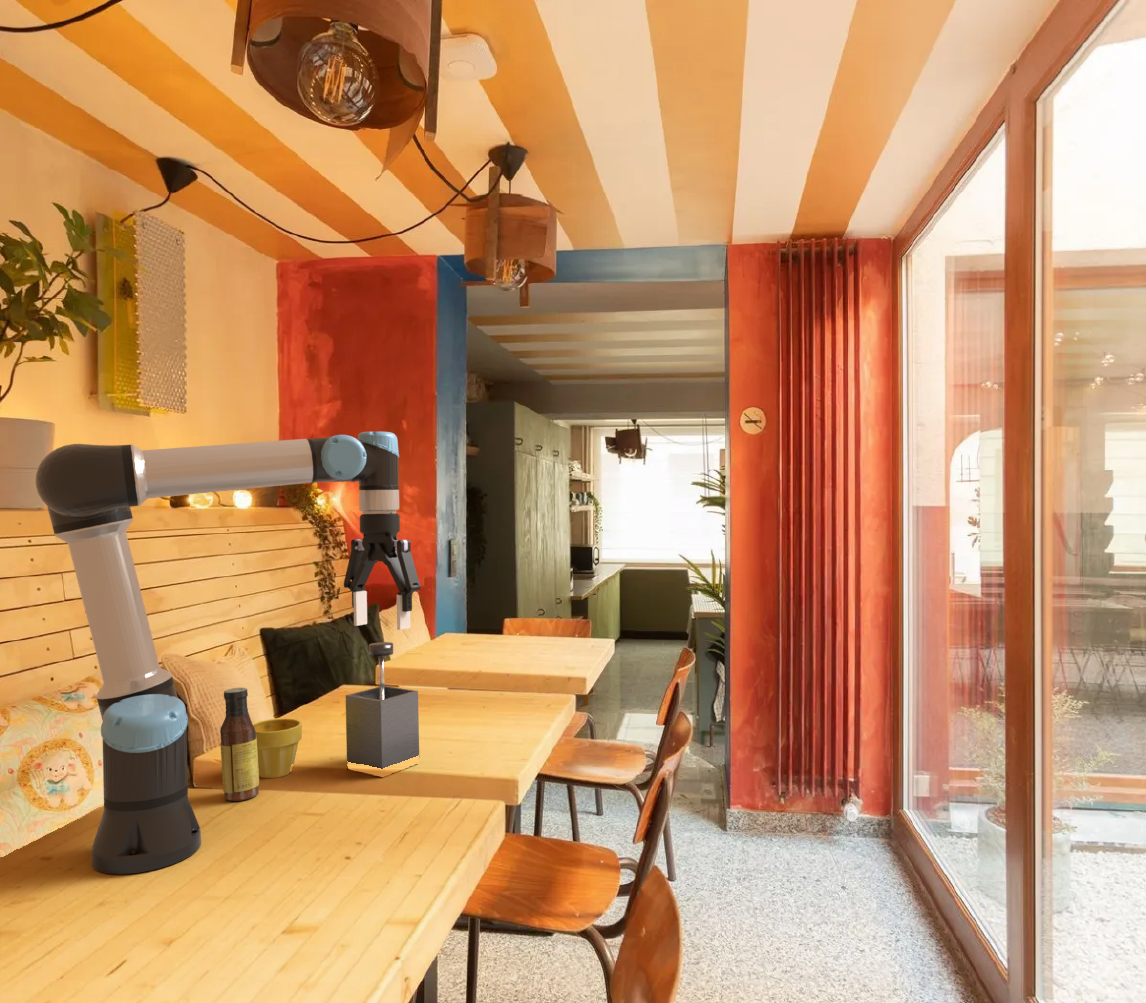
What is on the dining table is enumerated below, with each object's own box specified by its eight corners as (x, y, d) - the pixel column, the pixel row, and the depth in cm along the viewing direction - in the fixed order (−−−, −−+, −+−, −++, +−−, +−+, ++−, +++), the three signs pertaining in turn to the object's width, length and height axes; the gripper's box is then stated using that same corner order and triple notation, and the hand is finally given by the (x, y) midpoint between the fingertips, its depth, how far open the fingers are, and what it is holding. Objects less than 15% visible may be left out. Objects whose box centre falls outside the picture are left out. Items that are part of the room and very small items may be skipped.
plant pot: (291, 781, 162) (290, 731, 162) (239, 782, 162) (238, 732, 162) (309, 764, 172) (308, 717, 172) (260, 765, 173) (259, 718, 173)
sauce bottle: (265, 791, 157) (263, 685, 157) (249, 803, 151) (247, 693, 151) (232, 790, 157) (230, 685, 157) (214, 802, 151) (212, 693, 151)
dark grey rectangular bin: (382, 778, 163) (380, 701, 163) (347, 769, 169) (345, 695, 169) (431, 759, 174) (430, 687, 174) (397, 751, 180) (395, 682, 180)
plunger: (381, 716, 164) (380, 649, 164) (353, 711, 169) (351, 645, 169) (411, 707, 171) (410, 642, 171) (383, 702, 176) (382, 639, 176)
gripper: (438, 511, 156) (440, 628, 156) (352, 512, 170) (354, 620, 170) (409, 512, 150) (412, 634, 150) (323, 513, 163) (325, 625, 163)
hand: (381, 626), depth 160 cm, fingers open, 11 cm apart
